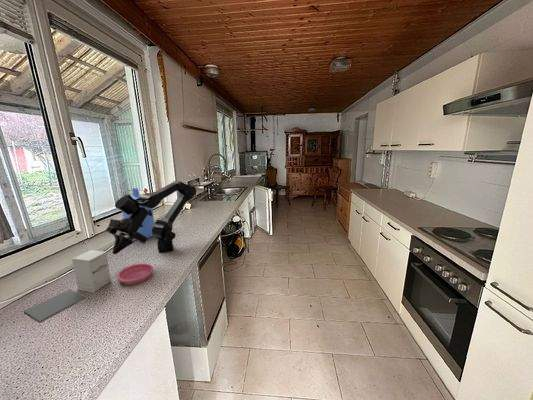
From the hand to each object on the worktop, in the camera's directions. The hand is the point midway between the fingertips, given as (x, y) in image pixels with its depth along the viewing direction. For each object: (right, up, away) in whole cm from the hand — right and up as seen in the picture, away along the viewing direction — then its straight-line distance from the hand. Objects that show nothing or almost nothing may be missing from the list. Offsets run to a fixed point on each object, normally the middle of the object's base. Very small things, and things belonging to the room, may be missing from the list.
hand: (113, 253), depth 89 cm
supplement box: (-4, -11, -5) cm, 13 cm away
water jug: (-13, +1, +42) cm, 44 cm away
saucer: (+9, -10, 0) cm, 14 cm away
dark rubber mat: (-8, -13, -16) cm, 22 cm away
